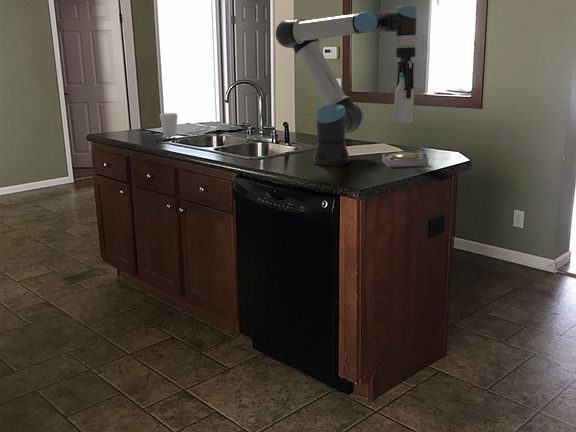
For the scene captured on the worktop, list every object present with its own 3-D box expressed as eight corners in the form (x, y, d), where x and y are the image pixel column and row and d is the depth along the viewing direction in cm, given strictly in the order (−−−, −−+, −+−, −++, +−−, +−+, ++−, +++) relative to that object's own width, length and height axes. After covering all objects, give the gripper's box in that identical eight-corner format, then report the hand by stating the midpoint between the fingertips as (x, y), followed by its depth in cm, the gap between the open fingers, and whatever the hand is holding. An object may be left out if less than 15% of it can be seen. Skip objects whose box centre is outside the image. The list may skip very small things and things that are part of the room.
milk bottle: (412, 124, 244) (415, 73, 237) (393, 124, 245) (395, 73, 239) (413, 121, 251) (415, 71, 244) (394, 120, 252) (396, 71, 246)
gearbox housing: (388, 167, 242) (388, 156, 241) (382, 161, 254) (382, 150, 252) (428, 165, 243) (428, 154, 242) (419, 159, 255) (420, 149, 253)
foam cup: (159, 139, 332) (157, 115, 328) (165, 136, 341) (163, 113, 337) (175, 138, 330) (173, 115, 327) (181, 136, 339) (179, 112, 336)
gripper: (423, 46, 230) (421, 107, 236) (407, 46, 249) (406, 102, 256) (404, 47, 229) (402, 108, 236) (389, 47, 249) (388, 103, 255)
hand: (404, 105), depth 246 cm, fingers closed on milk bottle, 7 cm apart
